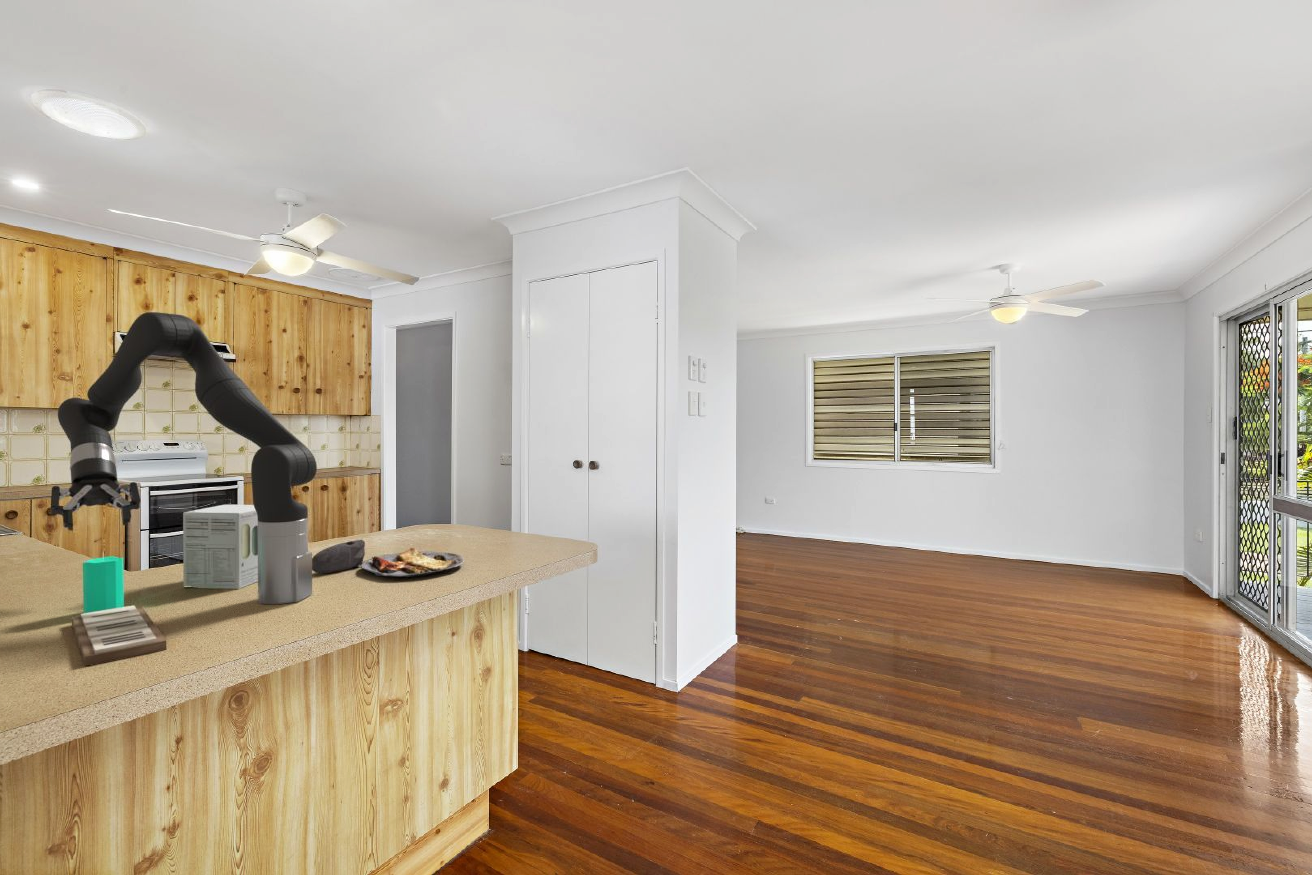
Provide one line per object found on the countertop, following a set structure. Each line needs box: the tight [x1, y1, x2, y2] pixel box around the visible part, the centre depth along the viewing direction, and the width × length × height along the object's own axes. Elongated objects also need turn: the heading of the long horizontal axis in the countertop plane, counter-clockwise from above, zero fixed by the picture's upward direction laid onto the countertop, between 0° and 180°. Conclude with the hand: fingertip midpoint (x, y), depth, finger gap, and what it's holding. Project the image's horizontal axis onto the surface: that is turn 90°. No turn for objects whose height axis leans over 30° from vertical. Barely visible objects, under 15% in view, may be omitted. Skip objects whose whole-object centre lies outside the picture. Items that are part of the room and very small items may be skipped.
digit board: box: [71, 605, 168, 667], centre depth 108 cm, size 27×10×2 cm, turn 47°
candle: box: [82, 551, 125, 614], centre depth 121 cm, size 6×6×12 cm
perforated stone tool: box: [312, 539, 366, 574], centre depth 156 cm, size 15×5×7 cm, turn 149°
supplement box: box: [182, 504, 258, 590], centre depth 145 cm, size 13×13×18 cm
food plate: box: [359, 547, 465, 578], centre depth 159 cm, size 25×23×4 cm
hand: (98, 525), depth 129 cm, fingers open, 8 cm apart
